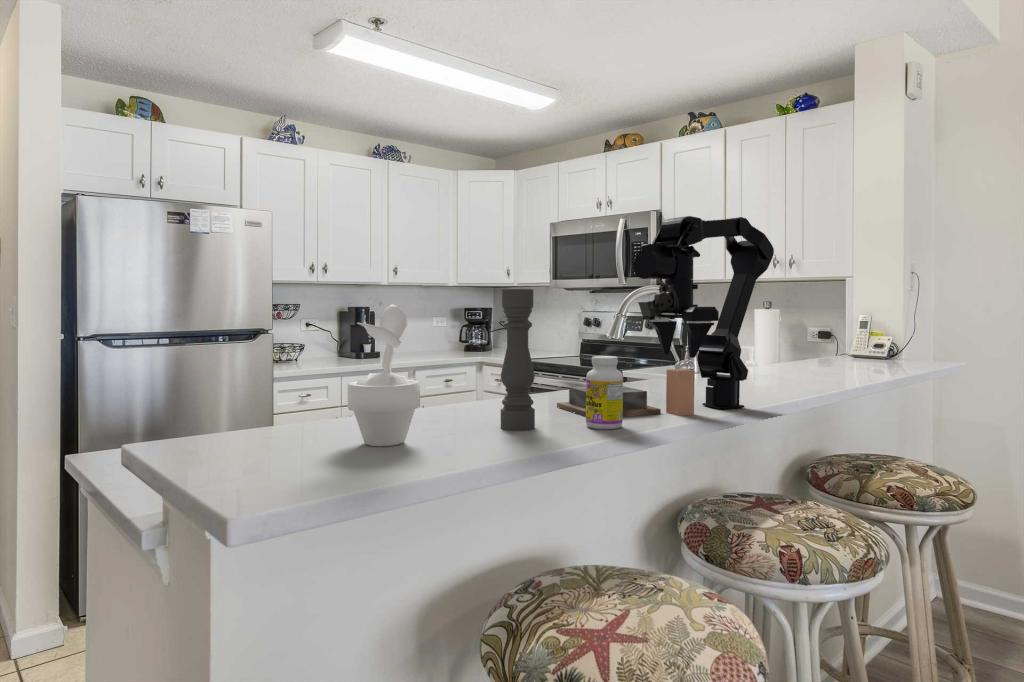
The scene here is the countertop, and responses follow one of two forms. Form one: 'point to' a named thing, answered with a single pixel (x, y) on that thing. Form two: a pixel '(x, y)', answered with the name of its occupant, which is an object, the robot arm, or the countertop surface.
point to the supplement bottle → (604, 394)
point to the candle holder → (517, 361)
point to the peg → (680, 391)
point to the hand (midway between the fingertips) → (678, 356)
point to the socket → (631, 402)
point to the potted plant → (385, 388)
